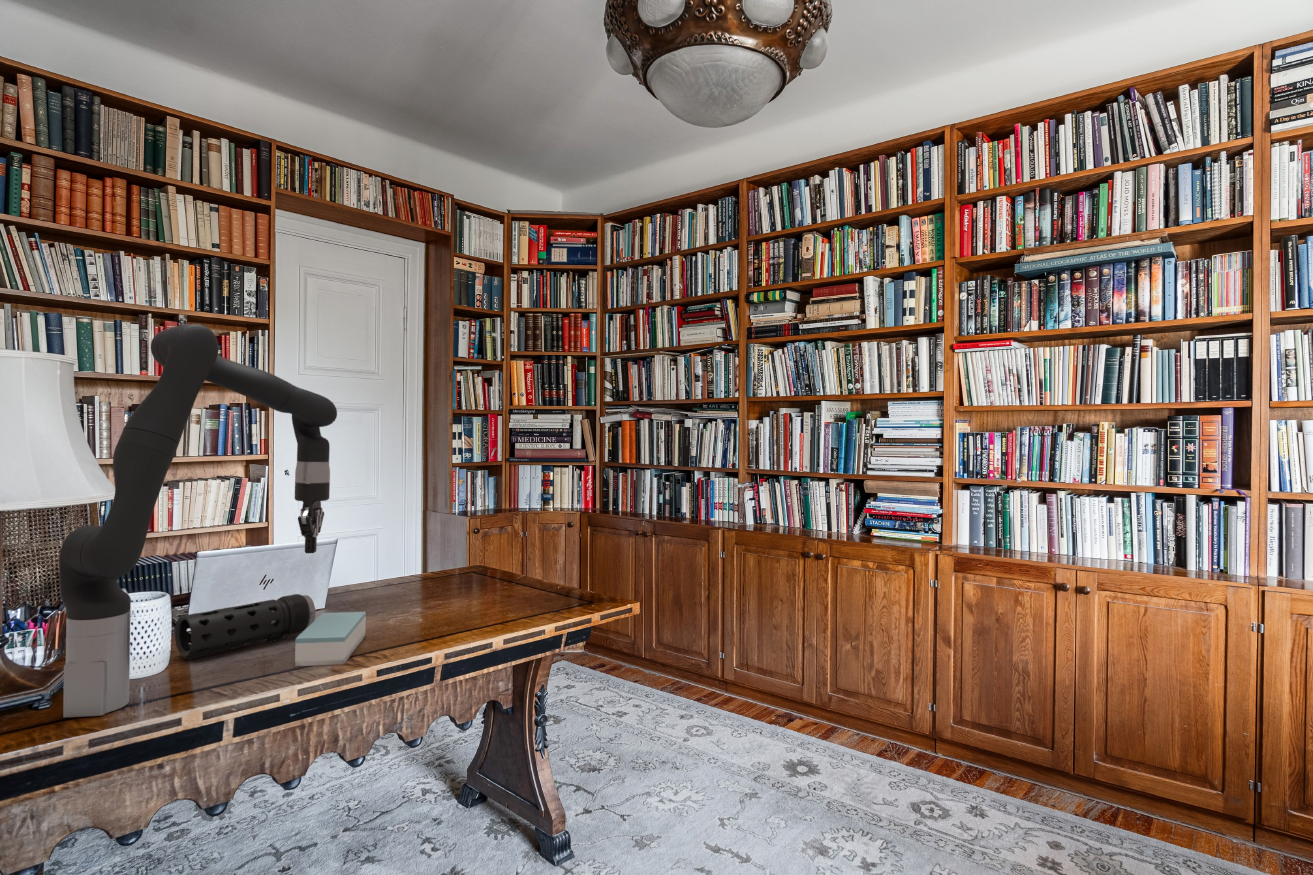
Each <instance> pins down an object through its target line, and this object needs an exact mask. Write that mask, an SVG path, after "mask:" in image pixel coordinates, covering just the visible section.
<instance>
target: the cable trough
mask: <svg viewBox="0 0 1313 875" xmlns="http://www.w3.org/2000/svg"><path fill="white" fill-rule="evenodd" d="M366 618H367V617H366V616H365V617H364V618H363V620H362V621H361V622H360V623H359V625H358V626H357V627H356V628H355V629H354V631H353V632H352V633H351V634H350V635H349V637H348V638H347V639H346V640H345V642H319V643H295V642H294V644H295V645H294V646H295V648H294V649H295V650H294V651H295V652H294V659H295V660H294V666H295V667H310V666H311V667H312V666H313V667H314V666H333V665H334V666H335V665H345V664H346V663H347V661H348V660H349V658H350V657H351V656H352V654H353V653H354V651H355V650H356V649H357V647H358V646H359V645H360V644H361V642H362V641H363V639H364V638H365V637H366V629H367V628H366V622H367V621H366V620H367V619H366Z"/></svg>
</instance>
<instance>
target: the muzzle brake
mask: <svg viewBox="0 0 1313 875" xmlns="http://www.w3.org/2000/svg"><path fill="white" fill-rule="evenodd" d="M315 620H316V607H315V604H314V601H313V599H312V597H311V596H310V595H307V594H304V595H303V594H299V593H296V594H295V593H294V594H290V595H284V596H280V597H279V598H277V599H268V600H263V601H257V602H252V603H247V604H242V605H236V606H229V607H224V608H219V609H218V608H217V609H214V610H208V611H203V612H202V611H201V612H196V613H190V614H189V613H188V614H184V615H181V616H179V617H178V618H177V620H176V623H175V629H174V639H175V645H176V649H177V651H178V653H179V654H180V655H181V656H182V657H183V658H184V659H185V660H188V661H189V660H192V659H196V658H197V659H198V658H202V657H206V656H210V655H215V654H220V653H223V652H228V651H232V649H236V648H244V646H245V645H248V644H249V645H250V644H252V643H257V642H262V641H266V642H268V641H269V643H271V642H270V641H272V642H275V641H274V640H276V641H279V640H280V639H281V640H283V639H284V637H285V636H289V635H294V634H298V633H302V632H303V631H304V630H305V629H306V628H307V627H309V626H310V625H311V624H312V623H313V622H314V621H315ZM188 629H190V630H189V631H190V632H188V631H187V630H188ZM281 640H280V641H281Z"/></svg>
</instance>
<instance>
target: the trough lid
mask: <svg viewBox="0 0 1313 875" xmlns="http://www.w3.org/2000/svg"><path fill="white" fill-rule="evenodd" d="M366 615H367V612H366V611H347V612H341V611H339V612H322V614H320V615H319V616H318V617H317V618H315V621H314V622H313V623H312V624H311V625H310V626H309V627H307V628H306V629H305V630H304V631H302V632H300V634H298V635H297V637H295V642H294V644H295V643H319V642H345V640H346V639H347V638H348V637H349V635H350V634H351V633H352V632H353V631H354V629H355V628H356V627H357V626H358V625H359V623H360V622H361V621H362V620H363V618H364V617H365V616H366Z"/></svg>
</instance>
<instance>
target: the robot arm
mask: <svg viewBox="0 0 1313 875" xmlns="http://www.w3.org/2000/svg"><path fill="white" fill-rule="evenodd" d="M219 346H220V345H219V341H218V338H217V336H216V334H215V333H214V331H213V330H212V329H211V328H209V327H208V326H206V325H202V324H199V323H198V324H197V323H187V324H180V325H176V326H172V327H168V328H165V329H163V330H161V331H159V332H157V333H156V334H155V335H154V336H153V338H152V339H151V342H150V351H151V354H152V357H153V359H154V360H155V361H156V362H157V363H158V365H160V366H161V367H162V368H163V369H162V372H161V374H160V376H159V379H158V381H157V382H156V384H155V386H154V387H153V388H152V390H151V391H150V392H149V393H148V394H147V396H146V397H144V399H142V401H141V402H140V403H139V405H138V406H137V407H136V408H135V410H134V411H133V413H131V415H130V417H128V419H127V421H126V422H125V425H124V427H123V429H122V432H121V433H120V436H119V439H118V440H117V443H116V446H115V448H114V452H113V456H112V467H113V468H112V470H113V478H114V496H113V502H112V503H111V507H110V509H109V512H108V514H107V517H106V518H105V520H104V522H103V524H102V525H83V526H81V527H78V528H76V529H75V530H73V531H71V532H70V533H69V534H68V535H66V537H65V539H64V540H63V542H62V545H61V547H60V550H59V551H60V552H59V559H58V560H59V562H58V567H59V587H60V590H59V591H60V598H61V601H62V602H61V603H62V604H63V606H64V608H65V612H66V613H65V614H66V619H65V620H66V621H65V622H66V623H65V624H66V626H65V627H66V629H65V632H66V633H65V634H66V635H65V664H64V665H63V702H62V703H63V706H62V708H63V711H62V712H63V714H62V715H63V718H80V717H82V718H83V717H97V716H99V717H100V716H104V715H105V714H108V713H110V712H113V711H116V710H120V709H122V708H123V707H125V706H126V705H128V704H129V702H130V672H131V671H130V669H131V668H130V664H131V662H130V661H131V609H132V607H131V605H132V604H131V603H132V602H131V601H132V600H131V596H130V595H129V594H128V593H127V592H125V591H124V589H122V588H121V587H120V585H119V584H118V582H117V579H118V578H122V577H124V576H126V575H127V574H128V573H130V572H131V571H132V570H133V569H134V567H135V566H136V565H137V563H138V562H139V560H140V558H141V556H142V553H143V549H144V547H145V544H146V540H147V535H148V532H149V527H150V524H151V520H152V516H153V513H154V509H155V507H156V506H155V505H156V503H157V500H158V498H159V496H160V493H161V490H162V487H163V484H164V482H165V479H166V476H167V474H168V471H169V468H170V467H171V464H172V463H173V459H174V457H175V455H176V452H177V450H178V448H179V444H180V441H181V439H182V436H183V433H184V431H185V428H186V425H187V423H188V421H189V418H190V415H191V413H192V410H193V408H194V404H195V401H196V399H197V397H198V394H199V392H200V391H201V389H202V386H203V385H204V383H205V382H209V383H211V384H214V385H217V386H220V387H222V388H225V389H227V390H231V392H235V393H237V394H239V395H241V396H244V397H246V398H248V399H251V400H253V401H254V402H257V403H259V404H261V405H263V406H265V407H268V408H270V409H272V410H273V411H276V412H279V413H283V414H290V415H291V421H292V427H293V428H292V429H293V432H294V436H295V440H296V445H297V446H296V450H297V451H296V466H295V469H294V470H295V472H294V473H295V474H294V500H295V501H296V502H302V507H301V509H300V515H299V516H298V518H297V521H298V525H299V530H300V534H301V536H302V537H303V538H304V553H305V554H314V553H316V552H317V545H318V544H317V543H318V542H317V538H318V536H319V534H320V533H321V529H322V525H323V521H324V517H325V511H323V508H322V503H321V502H324V501H328V500H329V499H330V487H331V486H330V485H331V484H330V483H331V467H330V451H331V450H330V449H331V448H330V442H329V440H328V439H327V438H326V437H324V436H322V433H321V429H320V428H324V427H327V426H330V425H331V424H333V423H334V422H335V421H336V420H337V417H338V410H337V409H338V408H337V407H336V405H335V403H334V402H333V401H332V400H330V399H329V398H328V397H326V396H324V395H321V394H319V393H315V392H312V391H310V390H307V389H306V388H305V389H304V388H302V387H298V386H296V385H294V384H293V383H290V382H289V381H287V380H285V379H283V378H281V377H278V376H277V375H275V374H273V373H271V372H269V371H268V372H267V371H265V370H262V369H259V368H257V367H254V366H249V365H246V364H244V363H241V362H240V363H239V362H236V361H233V360H231V359H228V358H226V357H223V356H221V355H219V348H220V347H219Z"/></svg>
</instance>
